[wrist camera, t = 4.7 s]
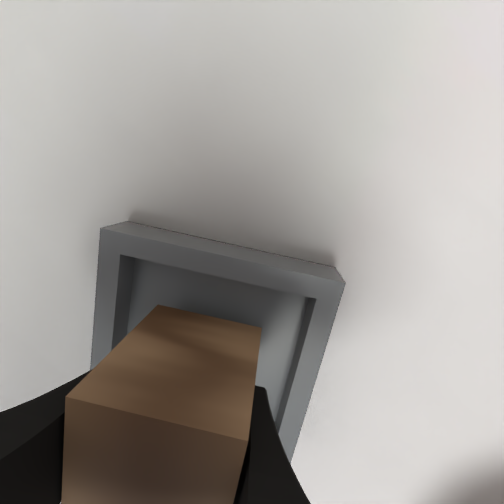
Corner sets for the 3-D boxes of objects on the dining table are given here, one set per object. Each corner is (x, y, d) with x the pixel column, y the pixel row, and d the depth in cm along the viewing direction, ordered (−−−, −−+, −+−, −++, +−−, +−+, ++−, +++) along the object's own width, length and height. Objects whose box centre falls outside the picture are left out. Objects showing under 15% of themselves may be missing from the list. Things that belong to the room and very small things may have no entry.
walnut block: (147, 392, 15) (60, 529, 9) (157, 304, 13) (65, 396, 8) (241, 415, 14) (216, 570, 9) (261, 327, 13) (248, 441, 7)
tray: (110, 395, 18) (86, 425, 15) (127, 221, 15) (100, 228, 13) (285, 438, 17) (286, 476, 15) (335, 267, 14) (345, 282, 12)
